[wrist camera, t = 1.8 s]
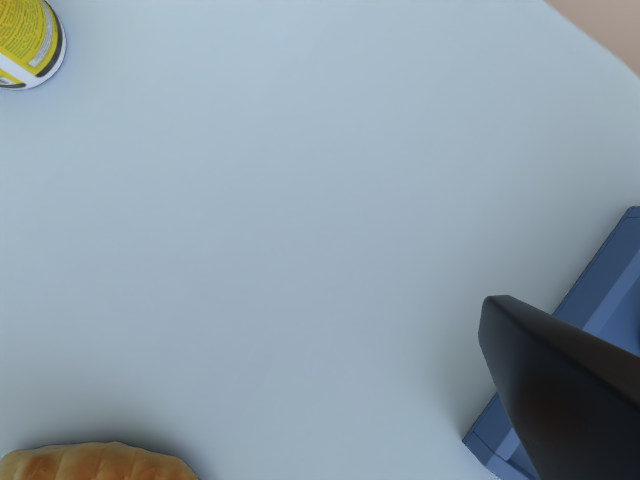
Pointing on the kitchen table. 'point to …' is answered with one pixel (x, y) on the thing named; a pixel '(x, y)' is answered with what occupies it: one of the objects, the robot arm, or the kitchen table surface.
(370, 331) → the kitchen table surface
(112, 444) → the pastry
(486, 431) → the tray
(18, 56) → the supplement bottle
